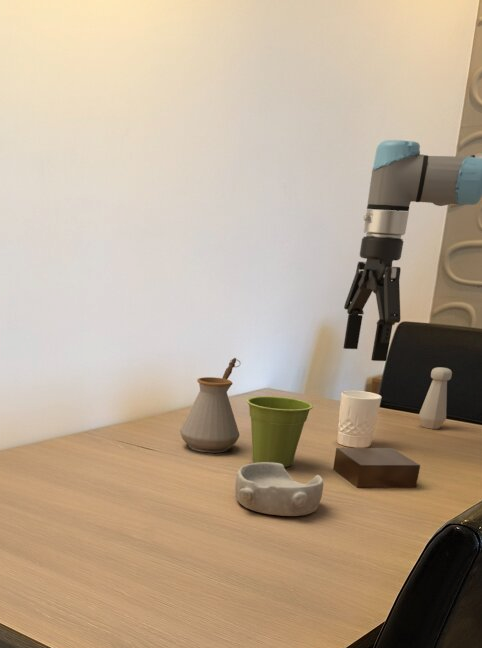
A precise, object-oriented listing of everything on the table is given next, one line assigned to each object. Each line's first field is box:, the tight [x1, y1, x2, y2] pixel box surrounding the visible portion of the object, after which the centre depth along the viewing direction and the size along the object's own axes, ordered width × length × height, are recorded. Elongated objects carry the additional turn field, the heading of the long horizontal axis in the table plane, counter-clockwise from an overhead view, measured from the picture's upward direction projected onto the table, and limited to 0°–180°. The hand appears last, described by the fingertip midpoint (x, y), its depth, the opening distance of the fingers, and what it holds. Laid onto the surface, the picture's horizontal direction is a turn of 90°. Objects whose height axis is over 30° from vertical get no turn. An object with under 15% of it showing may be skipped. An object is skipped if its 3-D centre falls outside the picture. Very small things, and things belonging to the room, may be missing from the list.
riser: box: [332, 447, 421, 489], centre depth 147 cm, size 11×11×4 cm
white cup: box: [336, 390, 383, 448], centre depth 167 cm, size 8×8×10 cm
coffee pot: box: [179, 357, 242, 453], centre depth 161 cm, size 21×12×15 cm, turn 160°
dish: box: [234, 462, 324, 517], centre depth 130 cm, size 14×14×5 cm
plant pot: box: [246, 395, 314, 469], centre depth 150 cm, size 12×12×11 cm
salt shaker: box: [418, 366, 453, 430], centre depth 184 cm, size 6×6×13 cm
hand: (363, 354), depth 162 cm, fingers open, 13 cm apart
